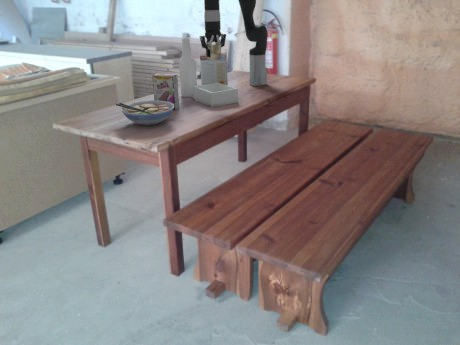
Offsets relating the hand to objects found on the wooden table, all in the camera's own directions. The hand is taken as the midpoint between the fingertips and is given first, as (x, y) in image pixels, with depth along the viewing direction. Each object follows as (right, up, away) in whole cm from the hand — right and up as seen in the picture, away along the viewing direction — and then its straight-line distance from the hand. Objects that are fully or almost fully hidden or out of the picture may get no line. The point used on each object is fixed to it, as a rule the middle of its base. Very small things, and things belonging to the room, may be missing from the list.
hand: (213, 56), depth 223 cm
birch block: (0, -1, 0) cm, 1 cm away
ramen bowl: (-27, -36, -25) cm, 51 cm away
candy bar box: (-22, -26, -2) cm, 35 cm away
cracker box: (0, -12, +29) cm, 31 cm away
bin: (+1, -21, +9) cm, 22 cm away
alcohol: (-14, -16, +21) cm, 30 cm away
